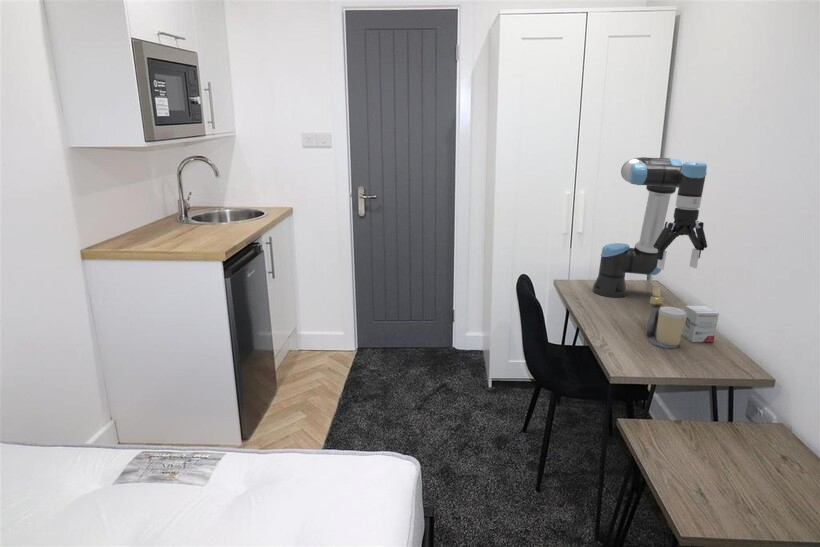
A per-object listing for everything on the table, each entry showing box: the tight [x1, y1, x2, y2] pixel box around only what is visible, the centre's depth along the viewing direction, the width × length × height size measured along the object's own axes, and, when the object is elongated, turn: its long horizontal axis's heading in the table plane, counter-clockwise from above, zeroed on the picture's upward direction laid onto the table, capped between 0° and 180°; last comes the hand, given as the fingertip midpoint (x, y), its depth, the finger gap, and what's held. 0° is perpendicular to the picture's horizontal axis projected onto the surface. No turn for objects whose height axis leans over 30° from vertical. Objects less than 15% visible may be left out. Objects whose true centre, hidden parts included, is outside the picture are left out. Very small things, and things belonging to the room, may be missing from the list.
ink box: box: [681, 305, 720, 343], centre depth 205 cm, size 9×9×12 cm
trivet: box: [648, 335, 680, 350], centre depth 200 cm, size 10×10×1 cm
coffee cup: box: [656, 306, 687, 346], centre depth 199 cm, size 9×9×12 cm
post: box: [645, 304, 662, 338], centre depth 205 cm, size 3×3×12 cm
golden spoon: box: [649, 286, 665, 307], centre depth 209 cm, size 4×18×3 cm, turn 158°
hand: (676, 267), depth 192 cm, fingers open, 13 cm apart
